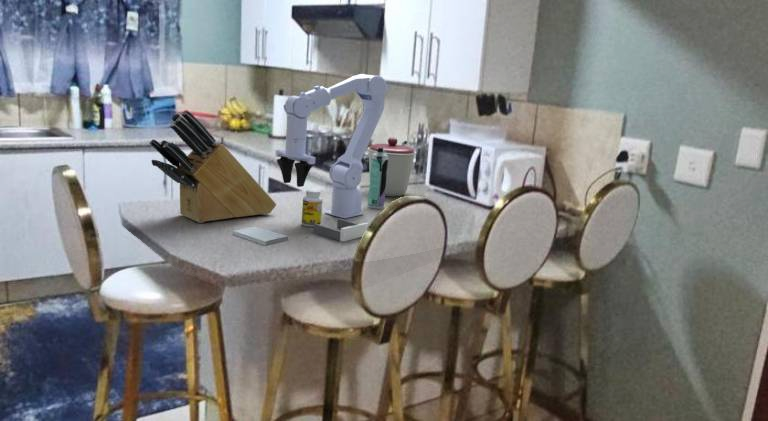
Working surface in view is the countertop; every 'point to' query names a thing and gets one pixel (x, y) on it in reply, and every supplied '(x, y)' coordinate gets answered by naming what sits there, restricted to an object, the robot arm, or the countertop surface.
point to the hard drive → (260, 235)
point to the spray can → (378, 179)
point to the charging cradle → (342, 230)
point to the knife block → (209, 176)
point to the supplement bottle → (311, 208)
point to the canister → (395, 166)
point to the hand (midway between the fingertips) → (293, 184)
